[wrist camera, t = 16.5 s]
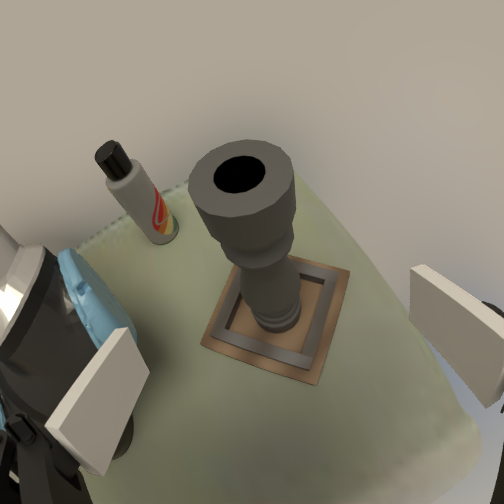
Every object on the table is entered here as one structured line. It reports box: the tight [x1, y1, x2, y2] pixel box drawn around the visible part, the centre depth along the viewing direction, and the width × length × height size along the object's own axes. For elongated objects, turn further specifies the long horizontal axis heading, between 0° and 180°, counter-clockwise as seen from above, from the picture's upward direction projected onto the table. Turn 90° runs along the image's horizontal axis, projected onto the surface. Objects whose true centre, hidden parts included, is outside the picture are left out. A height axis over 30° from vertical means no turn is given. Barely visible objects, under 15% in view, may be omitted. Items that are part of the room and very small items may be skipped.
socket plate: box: [200, 255, 350, 385], centre depth 36 cm, size 16×16×3 cm
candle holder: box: [188, 140, 301, 334], centre depth 25 cm, size 6×6×25 cm
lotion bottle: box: [95, 140, 178, 245], centre depth 38 cm, size 6×6×20 cm
